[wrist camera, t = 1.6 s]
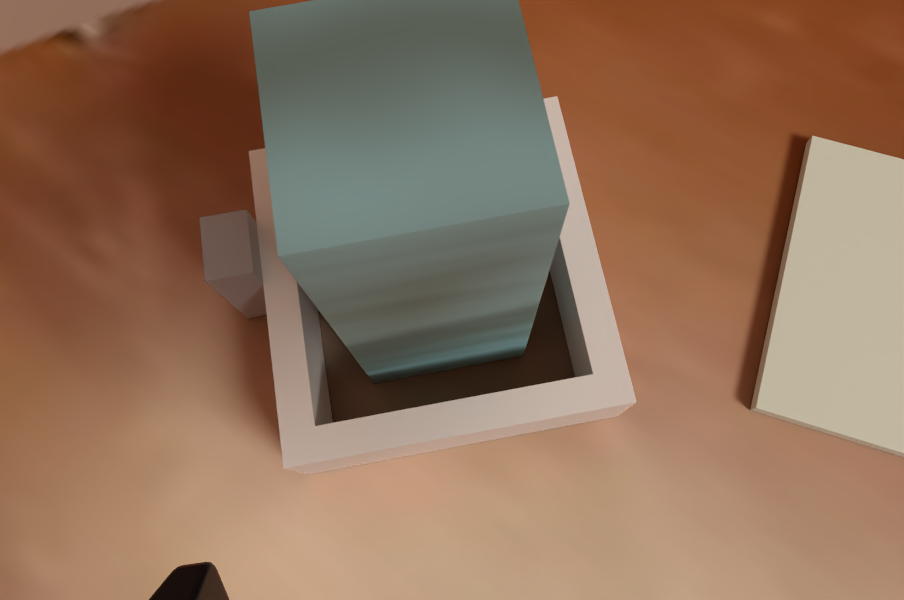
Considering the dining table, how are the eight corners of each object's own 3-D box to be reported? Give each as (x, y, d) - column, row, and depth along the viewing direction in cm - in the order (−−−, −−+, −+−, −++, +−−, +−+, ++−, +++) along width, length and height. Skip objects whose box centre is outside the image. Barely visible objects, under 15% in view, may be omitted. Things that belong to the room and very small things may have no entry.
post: (523, 355, 24) (569, 203, 12) (374, 383, 23) (278, 256, 12) (493, 218, 25) (509, -34, 14) (352, 244, 25) (248, 11, 13)
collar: (616, 416, 23) (644, 396, 19) (263, 482, 23) (221, 476, 19) (548, 143, 26) (560, 77, 22) (235, 198, 26) (192, 143, 22)
